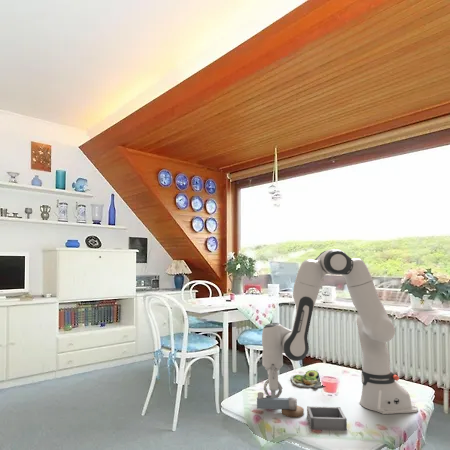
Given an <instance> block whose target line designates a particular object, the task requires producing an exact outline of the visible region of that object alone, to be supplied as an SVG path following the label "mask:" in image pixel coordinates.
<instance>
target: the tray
mask: <svg viewBox="0 0 450 450" xmlns="http://www.w3.org/2000/svg"><path fill="white" fill-rule="evenodd" d="M306 416H307V421H308V424H309V426H310V429H311V430H321V431H323V430H325V431H348V422H347V421H348V420H347V417H346V416H345V413H344V412H343V410H342V408H341V407H339V406H309V405H308V406H306Z"/></svg>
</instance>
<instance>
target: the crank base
mask: <svg viewBox="0 0 450 450" xmlns="http://www.w3.org/2000/svg"><path fill="white" fill-rule="evenodd" d="M280 410H281V412H282V413H281V414H282V415H283V416H284V415H285V417H287V418H300V417H302V416H303V417H304V413H305V412H304V411H305V410H304V408H303V407H302V406H300V405H297V409H296V410H290V409H280Z"/></svg>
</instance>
